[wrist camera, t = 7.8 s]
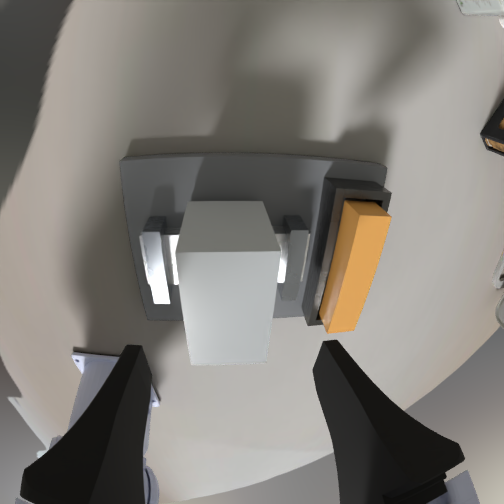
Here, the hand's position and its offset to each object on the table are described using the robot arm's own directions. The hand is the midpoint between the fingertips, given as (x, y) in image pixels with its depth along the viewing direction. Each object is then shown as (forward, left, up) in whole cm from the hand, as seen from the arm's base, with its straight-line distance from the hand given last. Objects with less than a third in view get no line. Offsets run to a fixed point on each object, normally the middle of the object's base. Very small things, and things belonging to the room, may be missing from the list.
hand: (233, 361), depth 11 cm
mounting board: (0, -2, -9) cm, 10 cm away
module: (0, 0, -8) cm, 8 cm away
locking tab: (0, -7, -7) cm, 10 cm away
